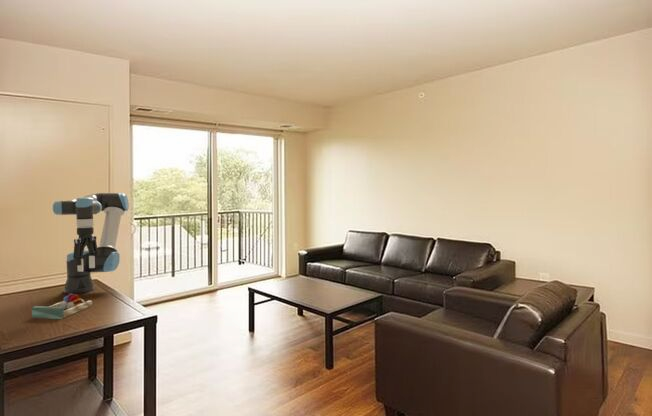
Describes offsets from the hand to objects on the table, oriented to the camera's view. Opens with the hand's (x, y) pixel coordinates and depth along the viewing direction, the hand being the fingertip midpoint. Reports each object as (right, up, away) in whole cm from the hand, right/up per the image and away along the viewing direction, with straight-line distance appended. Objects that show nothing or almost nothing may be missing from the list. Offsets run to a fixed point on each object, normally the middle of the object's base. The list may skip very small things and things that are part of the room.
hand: (86, 269), depth 204 cm
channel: (-1, -18, -15) cm, 24 cm away
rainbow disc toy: (-1, -18, -10) cm, 21 cm away
